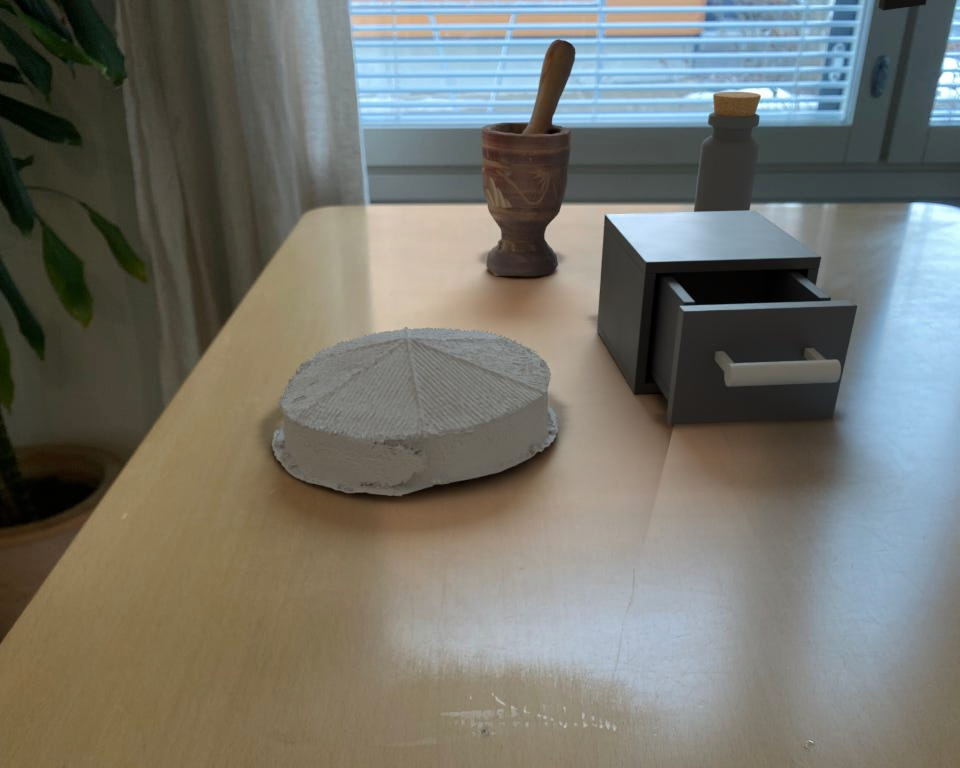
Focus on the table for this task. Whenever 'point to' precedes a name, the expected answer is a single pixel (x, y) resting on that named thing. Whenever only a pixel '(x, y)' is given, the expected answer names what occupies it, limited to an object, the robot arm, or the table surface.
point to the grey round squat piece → (414, 411)
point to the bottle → (729, 154)
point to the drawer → (747, 346)
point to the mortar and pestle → (528, 174)
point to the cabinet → (678, 269)
